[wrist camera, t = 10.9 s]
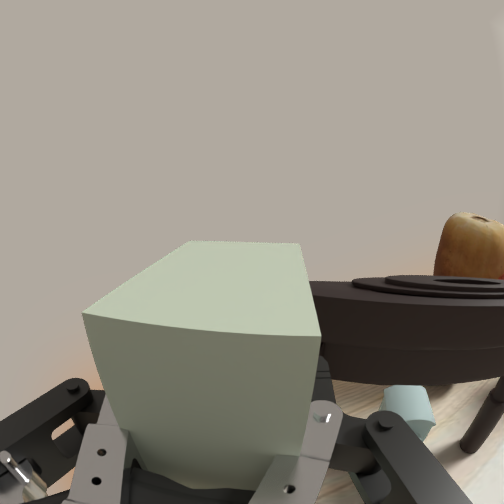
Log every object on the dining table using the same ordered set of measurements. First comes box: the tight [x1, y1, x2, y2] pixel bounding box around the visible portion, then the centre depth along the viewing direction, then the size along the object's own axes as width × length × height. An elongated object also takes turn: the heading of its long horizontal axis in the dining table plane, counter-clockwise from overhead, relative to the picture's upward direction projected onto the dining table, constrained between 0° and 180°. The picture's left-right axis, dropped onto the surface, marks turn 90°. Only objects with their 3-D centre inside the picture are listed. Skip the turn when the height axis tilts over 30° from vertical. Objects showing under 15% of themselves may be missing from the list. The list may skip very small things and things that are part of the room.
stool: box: [309, 275, 504, 453], centre depth 18 cm, size 16×21×33 cm
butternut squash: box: [433, 212, 504, 280], centre depth 32 cm, size 14×13×25 cm
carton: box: [82, 241, 321, 491], centre depth 9 cm, size 5×7×12 cm, turn 174°
